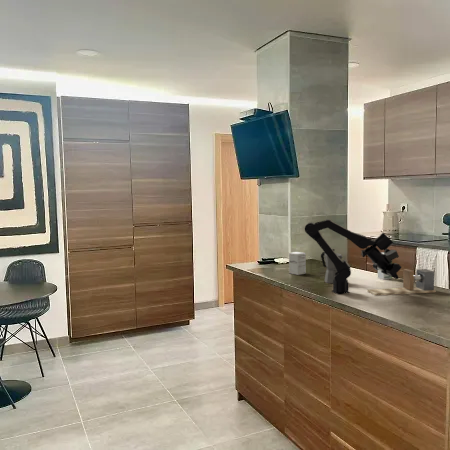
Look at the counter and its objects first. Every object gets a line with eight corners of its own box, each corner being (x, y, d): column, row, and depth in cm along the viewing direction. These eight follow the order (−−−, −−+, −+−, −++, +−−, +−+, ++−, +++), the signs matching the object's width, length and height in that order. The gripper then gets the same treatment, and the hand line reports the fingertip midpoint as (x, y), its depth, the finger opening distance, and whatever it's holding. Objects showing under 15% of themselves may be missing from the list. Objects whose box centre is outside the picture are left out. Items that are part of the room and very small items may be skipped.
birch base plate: (374, 295, 211) (374, 293, 211) (367, 291, 219) (367, 289, 219) (435, 292, 214) (435, 290, 214) (426, 288, 222) (426, 286, 222)
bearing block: (424, 290, 214) (424, 272, 213) (416, 287, 221) (416, 269, 220) (433, 290, 215) (434, 271, 214) (425, 286, 221) (425, 269, 221)
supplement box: (288, 273, 269) (288, 252, 268) (297, 271, 274) (297, 251, 273) (297, 275, 263) (297, 254, 262) (306, 273, 268) (306, 252, 267)
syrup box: (383, 279, 245) (383, 253, 244) (377, 277, 251) (377, 252, 250) (392, 278, 247) (392, 252, 246) (386, 276, 252) (386, 251, 251)
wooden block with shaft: (409, 290, 214) (409, 271, 213) (403, 287, 220) (403, 269, 219) (433, 288, 215) (433, 270, 214) (426, 286, 221) (426, 268, 220)
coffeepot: (348, 282, 240) (348, 249, 239) (336, 285, 235) (336, 251, 233) (327, 278, 253) (327, 246, 251) (315, 280, 248) (315, 248, 246)
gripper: (397, 247, 205) (419, 270, 207) (379, 242, 223) (399, 263, 225) (381, 264, 204) (403, 287, 207) (363, 258, 223) (384, 279, 225)
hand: (397, 278), depth 216 cm, fingers closed
